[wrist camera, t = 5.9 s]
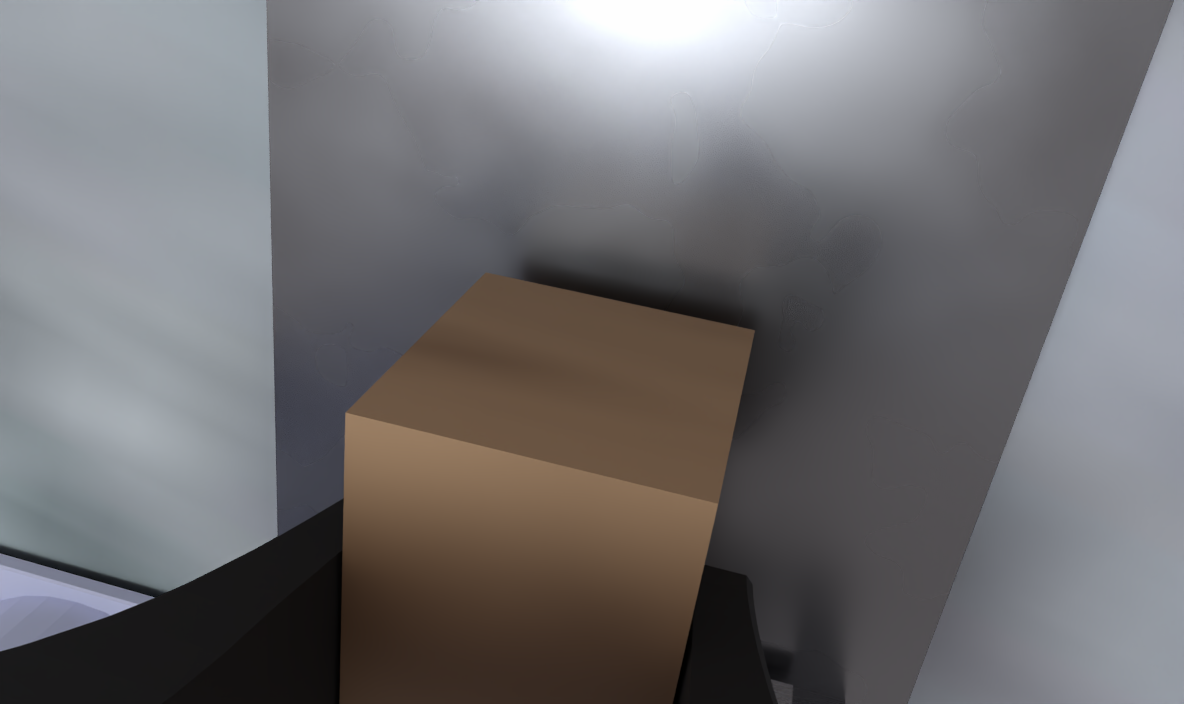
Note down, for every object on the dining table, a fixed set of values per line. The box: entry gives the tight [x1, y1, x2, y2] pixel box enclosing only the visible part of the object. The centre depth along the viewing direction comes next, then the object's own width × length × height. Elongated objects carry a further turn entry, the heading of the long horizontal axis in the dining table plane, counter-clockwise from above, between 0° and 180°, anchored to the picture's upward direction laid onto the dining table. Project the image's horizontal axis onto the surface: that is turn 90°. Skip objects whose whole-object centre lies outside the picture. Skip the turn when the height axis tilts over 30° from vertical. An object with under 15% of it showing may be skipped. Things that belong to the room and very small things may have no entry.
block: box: [340, 273, 755, 704], centre depth 13 cm, size 6×4×4 cm, turn 171°
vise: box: [266, 0, 1174, 704], centre depth 14 cm, size 16×12×5 cm
